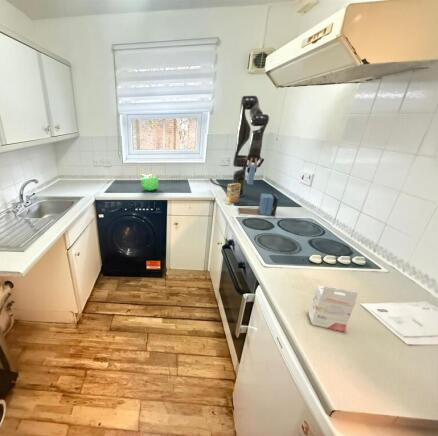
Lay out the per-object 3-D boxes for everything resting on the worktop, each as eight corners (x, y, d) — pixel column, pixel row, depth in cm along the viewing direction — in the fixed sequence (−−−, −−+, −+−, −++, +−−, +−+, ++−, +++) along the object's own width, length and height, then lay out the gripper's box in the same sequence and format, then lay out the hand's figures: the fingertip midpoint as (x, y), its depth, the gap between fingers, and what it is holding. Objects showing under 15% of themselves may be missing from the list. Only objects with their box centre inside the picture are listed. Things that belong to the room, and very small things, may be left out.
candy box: (228, 204, 179) (231, 185, 173) (225, 203, 183) (227, 183, 177) (238, 203, 181) (241, 184, 175) (234, 201, 185) (237, 182, 179)
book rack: (237, 208, 170) (240, 191, 165) (271, 211, 165) (274, 193, 160) (239, 215, 160) (242, 196, 155) (274, 218, 154) (279, 199, 149)
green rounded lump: (158, 192, 209) (159, 176, 204) (139, 192, 210) (139, 176, 204) (158, 187, 226) (158, 172, 220) (140, 187, 226) (140, 172, 221)
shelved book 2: (263, 210, 165) (266, 193, 160) (267, 210, 164) (271, 194, 159) (265, 215, 157) (268, 197, 152) (270, 215, 156) (274, 198, 151)
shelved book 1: (258, 209, 166) (261, 193, 161) (262, 210, 165) (265, 193, 160) (260, 214, 158) (263, 197, 153) (265, 214, 157) (268, 197, 152)
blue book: (248, 184, 162) (250, 166, 158) (246, 181, 170) (249, 164, 166) (252, 184, 161) (255, 167, 157) (251, 181, 169) (253, 164, 165)
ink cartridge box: (338, 320, 76) (353, 283, 70) (344, 332, 72) (360, 293, 66) (307, 313, 79) (319, 276, 73) (311, 324, 75) (324, 286, 69)
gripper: (265, 146, 158) (261, 172, 165) (243, 146, 162) (239, 171, 168) (268, 147, 152) (263, 174, 158) (244, 147, 155) (240, 173, 161)
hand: (251, 173), depth 163 cm, fingers closed on blue book, 3 cm apart
